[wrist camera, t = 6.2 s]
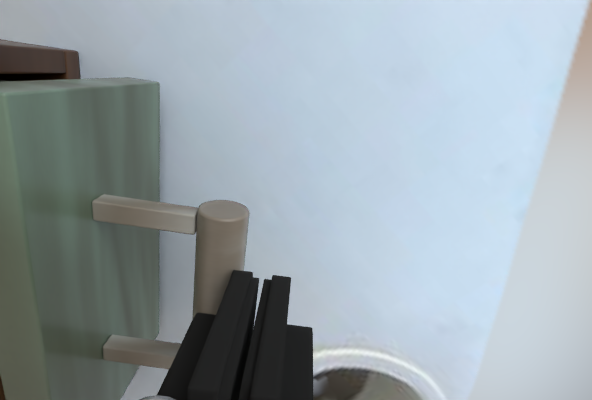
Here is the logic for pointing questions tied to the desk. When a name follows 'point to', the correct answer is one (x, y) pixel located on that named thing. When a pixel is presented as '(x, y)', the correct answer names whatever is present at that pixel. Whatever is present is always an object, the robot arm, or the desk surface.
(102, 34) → the desk surface
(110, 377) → the drawer
